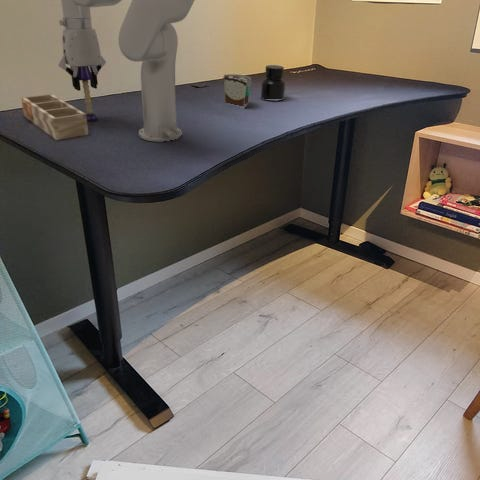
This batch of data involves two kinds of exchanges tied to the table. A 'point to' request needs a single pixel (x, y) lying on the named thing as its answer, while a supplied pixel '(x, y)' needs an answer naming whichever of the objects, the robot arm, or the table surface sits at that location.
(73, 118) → the rack
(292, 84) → the table surface
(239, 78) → the food container
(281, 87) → the ink bottle
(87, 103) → the toy lamp
